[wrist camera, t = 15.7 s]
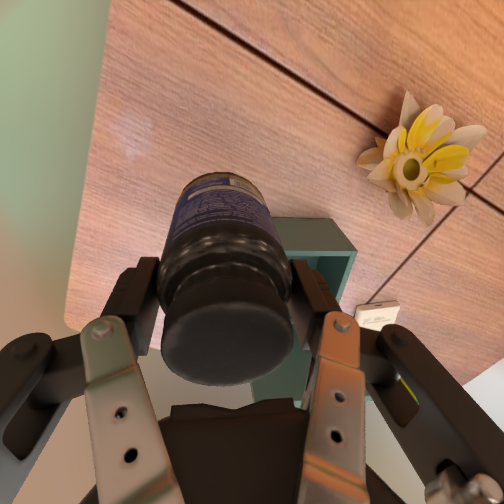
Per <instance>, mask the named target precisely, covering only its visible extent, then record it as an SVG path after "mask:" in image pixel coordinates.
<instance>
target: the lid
mask: <svg viewBox="0 0 504 504" xmlns="http://www.w3.org/2000/svg"><path fill="white" fill-rule="evenodd" d="M292 327H293V332H294V344H293V348H292V351H291V352H290V354H289V356H288V358H287V359H286V360H285V361H284V363H283V364H282V365H281V366H279V367H278V368H277V369H276V370H274V371H273V372H271V373H270V374H268V375H266V376H264V377H262V378H259V379H257V380H254V381H251V382H250V384H251V390H252V396H253V402H254V403H255V402H258V401H261V400H264V399H275V398H290V397H293V401H294V405H295V407H298V408H300V405H301V402H302V398H303V393H304V388H305V383H306V378H307V373H308V368H309V363H310V359H311V356H312V353H311V350H310V349H309V350H302V349H301V346H300V343H299V339H298V336H297V333H296V330H295V327H294V323H292ZM371 401H373V400H372V398H371V396H370V395H369V393H368V391H367V390H366V388H365V402H371Z"/></svg>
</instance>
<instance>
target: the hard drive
mask: <svg viewBox="0 0 504 504" xmlns="http://www.w3.org/2000/svg"><path fill="white" fill-rule="evenodd" d="M399 308H400V304H399V303H398V301H390V302H381V303H373V304H366V305H359V306H357V309H356V313H355V317H354V319H355V320H356V321H357V322H358V324H359V326H361V327H364V328H368V329H372V330H376V331H381V329H382V327H383V326H384V325H386V324H394V322H395V319H396V317H397V314H398V311H399Z"/></svg>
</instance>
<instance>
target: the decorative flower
mask: <svg viewBox="0 0 504 504" xmlns="http://www.w3.org/2000/svg"><path fill="white" fill-rule="evenodd" d="M455 126H456V123H455V122H454V120H453V119H452V117H449V116H443V107H442V106H440V105H438V104H434V105H432V106H430V107H428V108H426V109H425V110H424V111H423V112H422V111H421V109H420V107H419V106H418V104H417V102H416V101H415V99H414V97H413V96H412V94H411V93H410V92H409V90H408V91H407V92H406V95H405V98H404V101H403V105H402V110H401V116H400V121H399V126H398V127H397V128H395V129H393V130H392V132H391V134H390V135H389V137H388V139H387V140H385V139H383V138H380V137H375V141H376V143H377V146H378V148H371V149H368V150H366V151H364V152H363V153H362V154H361V155H360V156H359V158H358V160H357V164H356V165H358V166H360V167H362V168H365V169H368V170H371V171H372V172H371V173H370V174H369V175H368V176H367V178H368V180H369V181H370V182H372V183H373V184H375V185H376V186H378V187H380V188H383V189H385V190H387V191H386V192H389V204H390V207H391V209H392V211H393V212H394V214H395V215H396V216H397V217H398V218H399V219H400V220H409V219H410V217H411V216H412V214H413V207H412V203H413V204H414V205H415V209H416V212H417V215H418V218H419V220H420V223H421V224H422V225H424V226H426V227H427V226H429V225H432V223H433V222H434V218H435V209H434V206H433V203H432V202H431V201H433V202H435V203H438V204H441V205H449V206H463V203H464V199H465V192H464V189H463V187H462V186H461V185H460V184H459V183H458V182H457V181H458V180H460V179H463V178H465V177H467V176H468V167H466V166H465V164H467V163H468V162H469V159H470V155H471V154H470V152H471V151H472V150H473V149H474V147H475V146H476V145H477V144H478V143H479V142H480V141H481V140H482V139H483V138H484V136H485V135H486V134H487V133H488V132H487V129H486V128H485V127H484V126H483V125H470V126H465V127H460V128H458V129H456V130H454V128H455ZM411 201H412V203H411Z"/></svg>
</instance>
